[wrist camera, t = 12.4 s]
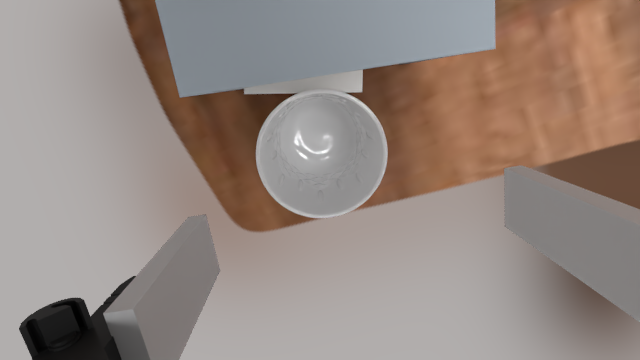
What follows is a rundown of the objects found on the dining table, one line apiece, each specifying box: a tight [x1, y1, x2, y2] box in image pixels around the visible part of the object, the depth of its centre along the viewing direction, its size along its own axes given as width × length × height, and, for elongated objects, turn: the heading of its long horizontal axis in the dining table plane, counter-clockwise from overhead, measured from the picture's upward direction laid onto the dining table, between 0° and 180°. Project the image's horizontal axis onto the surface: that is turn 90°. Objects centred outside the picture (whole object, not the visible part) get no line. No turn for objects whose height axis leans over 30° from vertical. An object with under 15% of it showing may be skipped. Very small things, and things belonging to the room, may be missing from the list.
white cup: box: [256, 89, 388, 218], centre depth 26 cm, size 8×8×10 cm
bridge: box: [155, 0, 495, 98], centre depth 22 cm, size 6×15×13 cm, turn 98°
